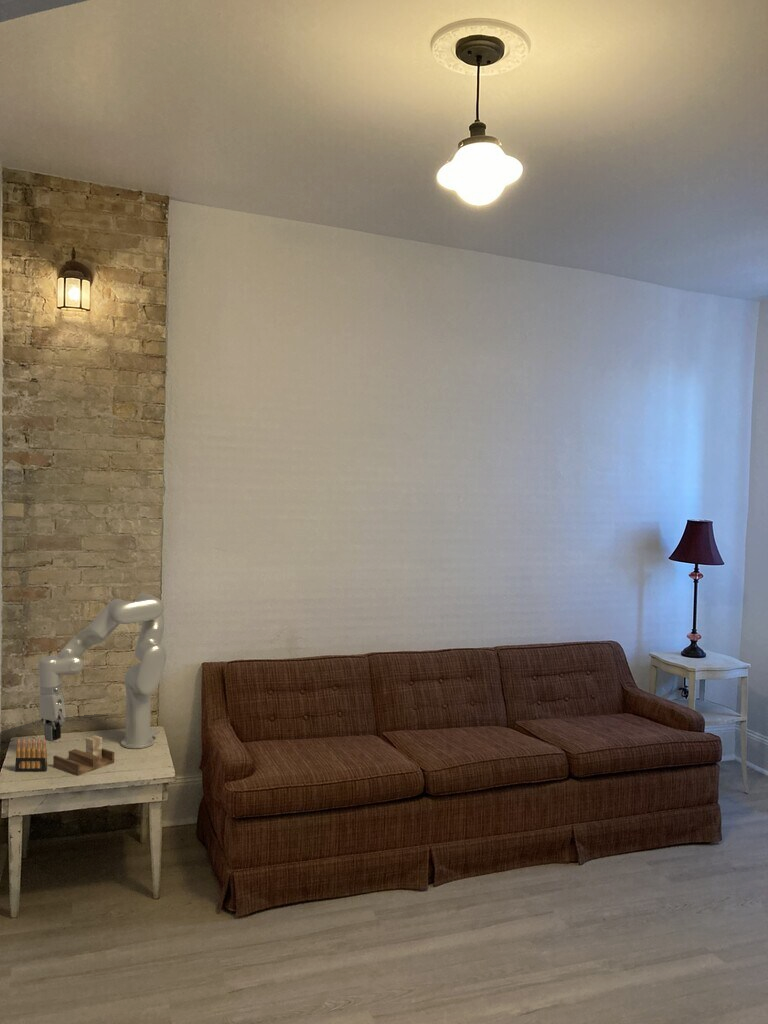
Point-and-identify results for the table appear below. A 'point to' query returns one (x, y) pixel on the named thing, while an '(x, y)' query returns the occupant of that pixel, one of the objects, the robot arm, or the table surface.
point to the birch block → (94, 746)
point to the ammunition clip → (31, 757)
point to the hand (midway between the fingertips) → (52, 736)
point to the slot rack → (83, 761)
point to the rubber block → (49, 731)
